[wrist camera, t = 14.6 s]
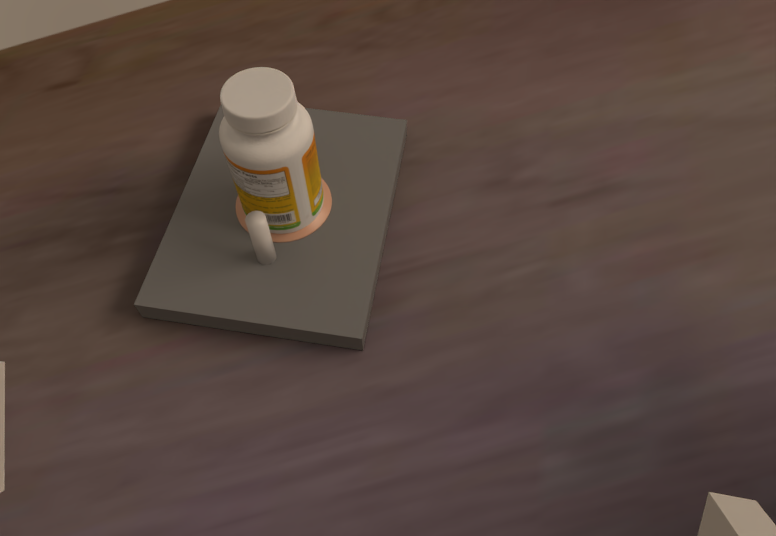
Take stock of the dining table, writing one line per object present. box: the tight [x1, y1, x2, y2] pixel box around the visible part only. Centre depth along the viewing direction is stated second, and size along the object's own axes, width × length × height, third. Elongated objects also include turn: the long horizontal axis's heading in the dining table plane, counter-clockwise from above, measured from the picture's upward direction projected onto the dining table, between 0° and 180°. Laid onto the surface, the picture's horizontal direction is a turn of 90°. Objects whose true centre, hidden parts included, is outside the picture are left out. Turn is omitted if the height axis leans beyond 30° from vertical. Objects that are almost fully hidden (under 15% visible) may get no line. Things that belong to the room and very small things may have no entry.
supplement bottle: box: [219, 67, 324, 234], centre depth 37 cm, size 5×5×10 cm
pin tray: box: [134, 105, 407, 350], centre depth 41 cm, size 14×18×6 cm
